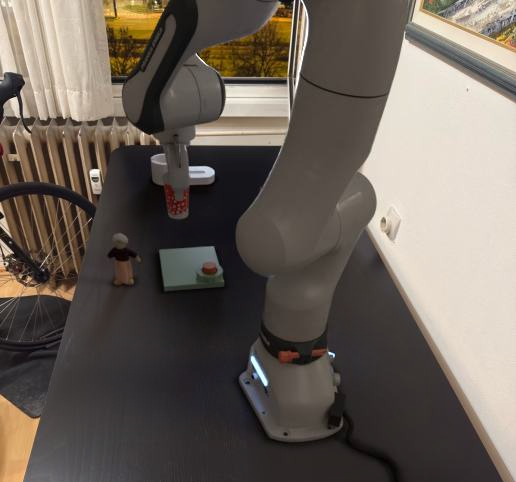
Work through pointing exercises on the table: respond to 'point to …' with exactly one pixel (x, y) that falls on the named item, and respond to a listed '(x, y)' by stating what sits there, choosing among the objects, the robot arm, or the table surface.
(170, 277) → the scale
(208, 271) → the tare button
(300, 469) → the table surface
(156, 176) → the bracket
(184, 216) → the beverage cup
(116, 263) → the grandmother figurine
